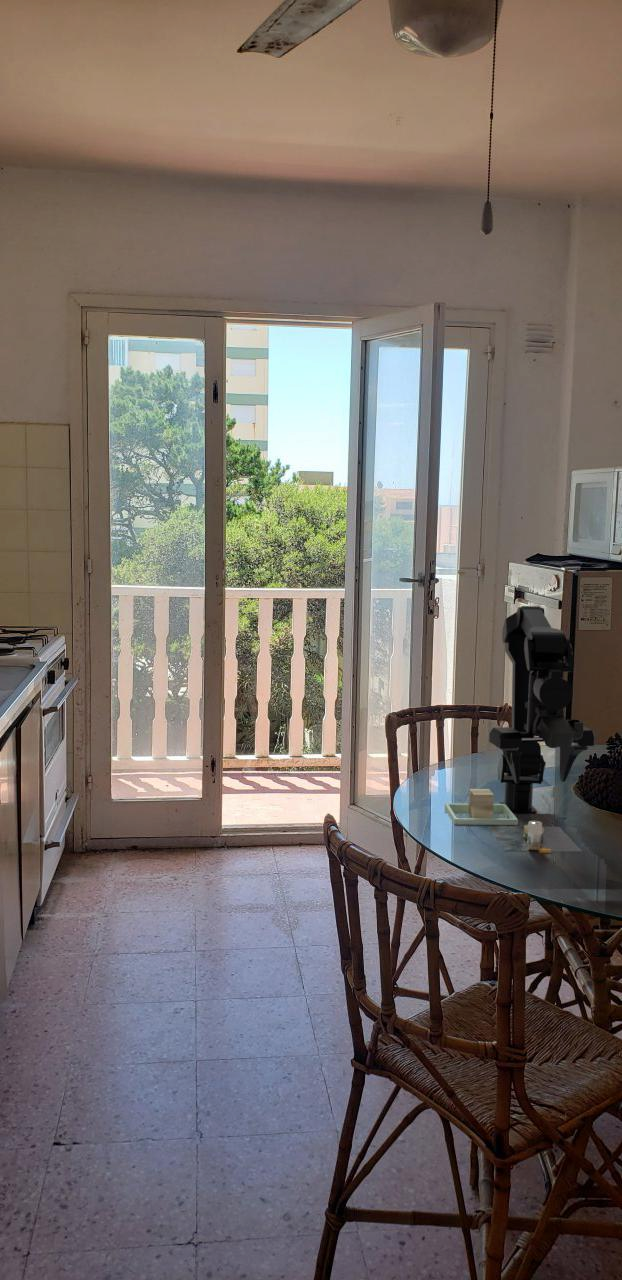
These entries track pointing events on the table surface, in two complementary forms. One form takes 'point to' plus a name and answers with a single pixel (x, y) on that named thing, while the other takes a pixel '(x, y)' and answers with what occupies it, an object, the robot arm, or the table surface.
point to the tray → (480, 821)
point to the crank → (534, 834)
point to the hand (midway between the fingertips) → (539, 782)
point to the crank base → (515, 841)
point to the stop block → (481, 803)
